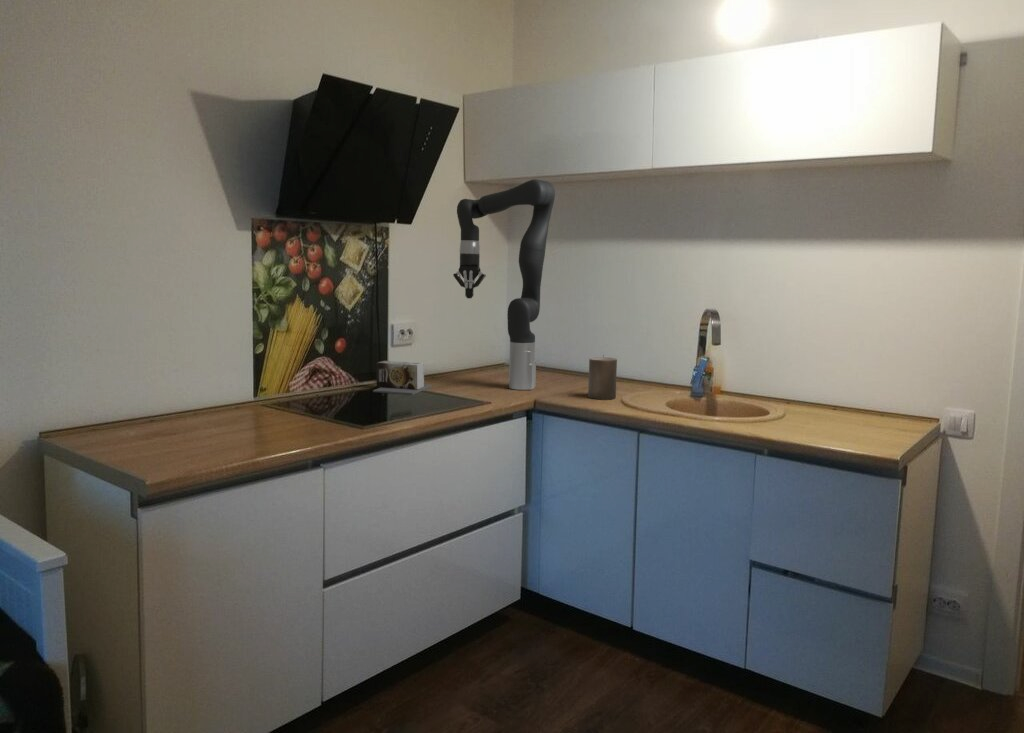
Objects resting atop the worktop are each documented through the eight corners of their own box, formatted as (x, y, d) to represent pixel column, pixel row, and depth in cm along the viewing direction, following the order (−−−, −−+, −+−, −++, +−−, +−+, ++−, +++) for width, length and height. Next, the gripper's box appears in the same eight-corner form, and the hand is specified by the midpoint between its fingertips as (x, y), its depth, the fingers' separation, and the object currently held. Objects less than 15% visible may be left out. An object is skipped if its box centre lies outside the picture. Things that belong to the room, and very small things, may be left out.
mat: (431, 386, 279) (431, 385, 279) (412, 394, 262) (412, 393, 262) (393, 384, 283) (393, 382, 283) (372, 392, 266) (372, 390, 266)
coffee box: (417, 390, 268) (376, 387, 272) (424, 387, 274) (384, 385, 278) (417, 364, 267) (375, 362, 271) (424, 362, 273) (383, 360, 277)
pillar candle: (618, 399, 259) (620, 356, 258) (590, 399, 259) (591, 356, 257) (612, 395, 269) (614, 353, 267) (585, 395, 268) (587, 353, 267)
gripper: (489, 253, 290) (488, 298, 293) (456, 252, 294) (456, 297, 296) (483, 252, 283) (482, 299, 286) (450, 252, 287) (449, 298, 289)
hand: (469, 298), depth 291 cm, fingers closed
